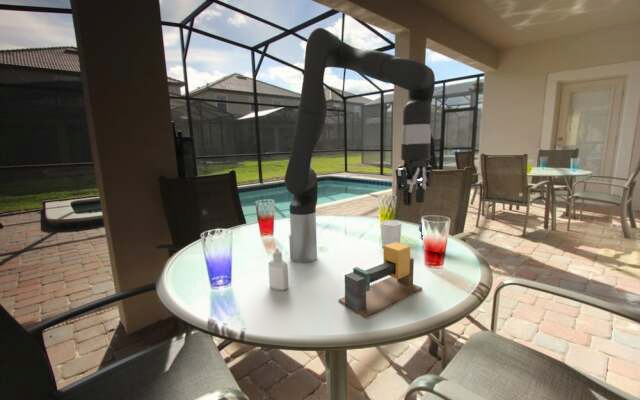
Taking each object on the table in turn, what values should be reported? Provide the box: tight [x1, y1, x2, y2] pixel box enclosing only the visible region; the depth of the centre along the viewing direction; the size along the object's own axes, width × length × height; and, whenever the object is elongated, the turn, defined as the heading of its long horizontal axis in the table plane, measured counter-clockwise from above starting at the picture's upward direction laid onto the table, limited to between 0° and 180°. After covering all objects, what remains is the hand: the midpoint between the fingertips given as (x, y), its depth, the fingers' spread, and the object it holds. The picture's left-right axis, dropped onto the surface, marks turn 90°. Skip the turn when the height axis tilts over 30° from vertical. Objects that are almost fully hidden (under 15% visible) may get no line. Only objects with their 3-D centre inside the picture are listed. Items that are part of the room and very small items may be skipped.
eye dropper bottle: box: [268, 247, 290, 291], centre depth 84 cm, size 4×6×12 cm
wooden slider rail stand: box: [338, 257, 423, 319], centre depth 78 cm, size 22×10×9 cm, turn 127°
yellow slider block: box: [383, 242, 411, 279], centre depth 81 cm, size 5×5×8 cm
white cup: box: [380, 219, 403, 249], centre depth 115 cm, size 8×8×10 cm
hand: (413, 203), depth 83 cm, fingers open, 5 cm apart
